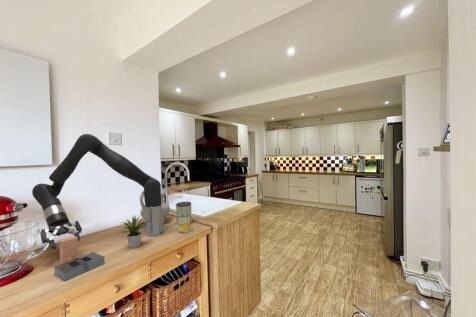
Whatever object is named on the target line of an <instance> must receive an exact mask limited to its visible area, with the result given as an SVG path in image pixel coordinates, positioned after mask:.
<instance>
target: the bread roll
mask: <svg viewBox="0 0 476 317" xmlns="http://www.w3.org/2000/svg"><path fill="white" fill-rule="evenodd" d="M178 226H179V225H178ZM193 228H194V227H193V225H191V224H189V225H187V224H183V225H181V226H179V227H178V228H177V231H178V233H180V232H181V233H180V234H188V233H190V231H191V232H192V231H193ZM187 232H188V233H187Z"/></svg>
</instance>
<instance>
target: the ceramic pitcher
mask: <svg viewBox="0 0 476 317" xmlns="http://www.w3.org/2000/svg"><path fill="white" fill-rule="evenodd" d="M166 192H167V188H165V187H164V188H163V189H162V188H161V206H162V216H163V222H164V223H165V222H166V221H165V220H166V218H168V216H169V214H170V212H171V211H170V210H171V208H170V204H169V203H167V202H166V201H165V200H164V197H165V194H166ZM139 204H140V207H141V208H140V212H139V213H140V217H141V219H142V218H143V217H144V218H143V219H142V220H144V219H145V220H144V222H146V214H145V202H144V190H143V191H141V194H140V195H139Z"/></svg>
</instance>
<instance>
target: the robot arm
mask: <svg viewBox="0 0 476 317" xmlns="http://www.w3.org/2000/svg"><path fill="white" fill-rule="evenodd" d="M88 153H90V154H92V155H95V156H96V157H97V158H99V159H100V160H102V161H103V162H104V163H105V164H106V165H107V166H108V167H109V168H111V169H112V170H113V171H114V172H116V173H117V174H119V175H121V176H122V177H124V178H127V179H129V180H131V181H133V182H136V183H137V184H139V186H141V187H142V188H143V191H144V197H143V202H144V205H145V214H146V221H145V222H146V223H145V225H146V226H145V235H146V236H147V237H155V236H159V235H161V234H162V233H163V232H164V231H165V227H164V226H165V225H164V223H165V222H163V216H162V206H161V189H162V183H161V182H160V181H159V180H158V179H156V178H154V177H153V176H151V175H149V174H147V173H146V172H144V170H142V169H141V168H139V167H138V166H137V165H136V164H135V163H133V162H132V161H131V160H129V159H127V158H126V157H125V156H123V155H121V154H120V153H118V152H116V151H115V150H112V149H111V148H110V147H109V146H107V145H106V144H104V143H103V141H101V140H100V139H99V138H98V137H97V136H96V135H95V136H94V135H93V134H89V133H84V134H83V133H82V135H80V136H79V137H78V138H77V139H76V141H75V143H74V145H73V146H72V148H71V149H70V151H69V152H68V154H67V155H66V156H65V158H64V159H63V160H62V162H60V164H59V165H57V167H56V168H55V169H54V170H53V172H52V173H51V174H50V175H49V177H48V178H49V180H50V181H51V182H52V185H51V184H48V183H38V184H35V185H34V187H33V188H32V190H31V194H32V196H33V198H34V200H35V201H36V202H37V203H38V204H39V205H40V206H41V209H42V211H43V215H44V220H45V221H46V224H47V228H46V229H45V228H42V229H40V230H41V231H39V232H40V233H39V236H40V239H41V243H42V244H48V245H49V248H50V249H51V250H55V249H56V248H57V245H56V242H55V237H56V236H57V237H60V236H62V235H67V234H68V235H72V236H76V237H78V243H79V242H80V240H81V236H80V234H81V233H82V231H83V228H82V226H81V224H80V222H79V221H78V220H75V222H72V223H71V222H70V219H69V217H68V215H67V212H66V210H65V208H64V206H63V204H62V202H61V200H60V199H59V197H58V196H60V194H61V191H62V190H63V187H64V185H65V182H66V181H67V180H68V179H69V178H70V177H71V176H72V175H73V173H74V172H75V170H76V168H77V167H78V164H79V163H80V161H81V160H82V159H83V157H84V156H85V155H87V154H88ZM148 221H150V222H148ZM146 227H147V228H146ZM48 233H49V234H51V236H50V237H49V238H48V236H47V235H48Z"/></svg>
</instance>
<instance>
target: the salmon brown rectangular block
mask: <svg viewBox="0 0 476 317" xmlns="http://www.w3.org/2000/svg"><path fill="white" fill-rule="evenodd" d="M58 245H59V246H58V247H59V265H60V264H63V263H66V262H68V259H70V258H71V260H74V259H76V258H79V242H78V237H76V236H74V235H72V236H70V237H66V238H62V239H59V241H58Z"/></svg>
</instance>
